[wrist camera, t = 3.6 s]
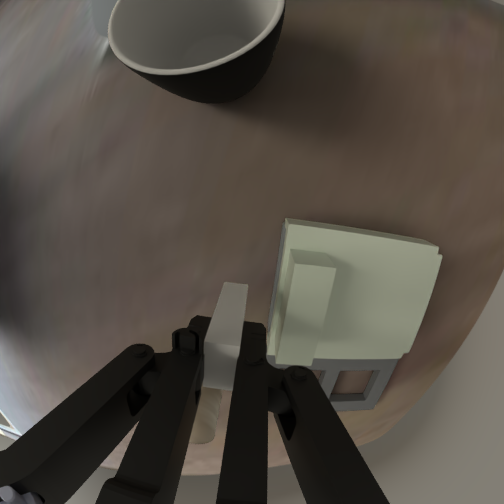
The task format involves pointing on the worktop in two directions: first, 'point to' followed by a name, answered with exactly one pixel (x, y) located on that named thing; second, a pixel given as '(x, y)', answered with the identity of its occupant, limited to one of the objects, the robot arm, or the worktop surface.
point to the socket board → (334, 366)
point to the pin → (206, 416)
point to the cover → (349, 293)
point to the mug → (197, 44)
